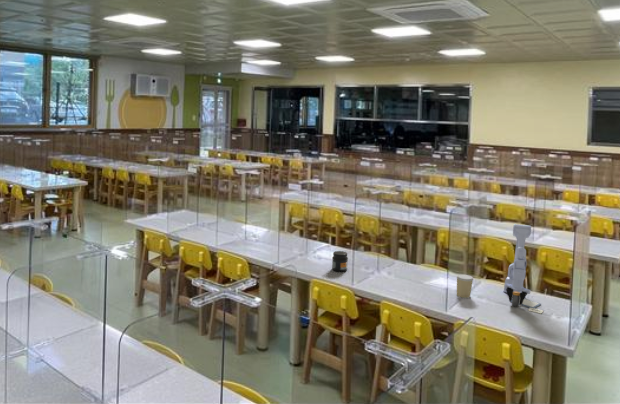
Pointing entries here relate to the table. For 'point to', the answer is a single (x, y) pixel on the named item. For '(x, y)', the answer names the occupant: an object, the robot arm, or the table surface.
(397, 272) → the table surface
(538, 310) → the word card
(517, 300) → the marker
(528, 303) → the clipboard
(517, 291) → the robot arm
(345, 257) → the supplement container
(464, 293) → the coffee cup
